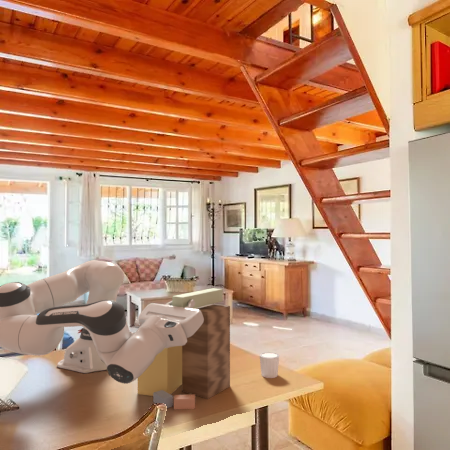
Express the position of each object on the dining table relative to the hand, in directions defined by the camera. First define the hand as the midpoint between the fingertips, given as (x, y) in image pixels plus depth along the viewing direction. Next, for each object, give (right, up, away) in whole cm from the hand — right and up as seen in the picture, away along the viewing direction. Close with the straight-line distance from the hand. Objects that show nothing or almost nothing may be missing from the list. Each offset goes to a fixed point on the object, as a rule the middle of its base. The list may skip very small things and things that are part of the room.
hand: (185, 300), depth 122 cm
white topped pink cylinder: (+27, -30, +20) cm, 45 cm away
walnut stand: (+6, -30, +8) cm, 31 cm away
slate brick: (-6, -30, -3) cm, 31 cm away
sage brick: (+4, -2, +5) cm, 7 cm away
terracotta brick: (0, -30, -5) cm, 30 cm away
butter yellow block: (-9, -30, +8) cm, 32 cm away
